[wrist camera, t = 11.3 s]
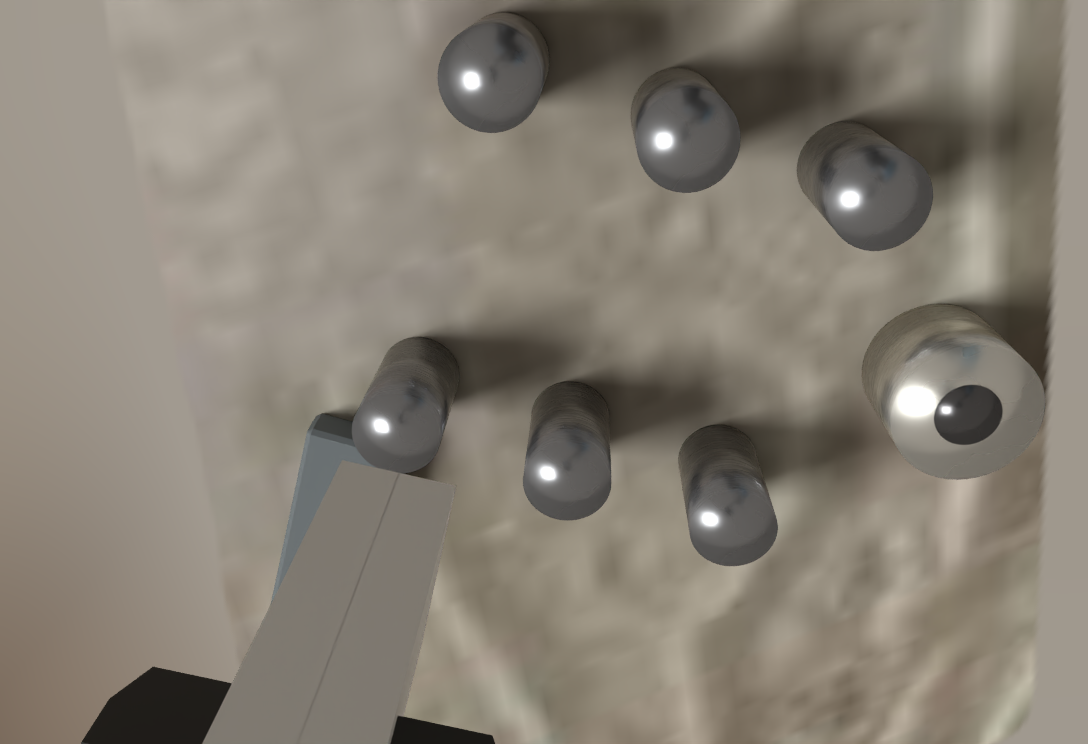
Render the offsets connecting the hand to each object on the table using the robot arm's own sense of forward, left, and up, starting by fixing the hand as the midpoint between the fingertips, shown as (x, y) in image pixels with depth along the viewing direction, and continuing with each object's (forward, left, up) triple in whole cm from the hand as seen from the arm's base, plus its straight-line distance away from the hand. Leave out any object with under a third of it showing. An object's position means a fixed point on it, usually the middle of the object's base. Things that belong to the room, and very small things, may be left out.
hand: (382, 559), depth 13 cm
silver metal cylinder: (+2, +17, -23) cm, 29 cm away
